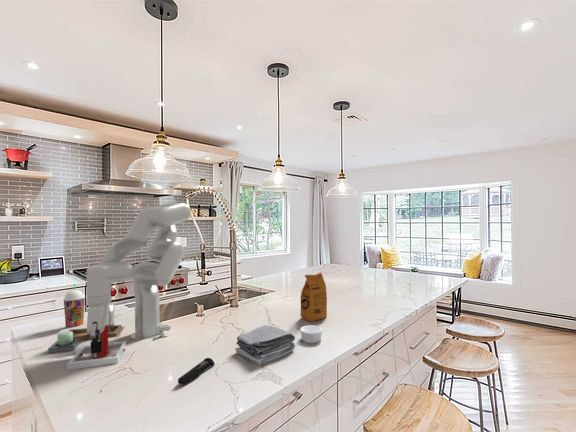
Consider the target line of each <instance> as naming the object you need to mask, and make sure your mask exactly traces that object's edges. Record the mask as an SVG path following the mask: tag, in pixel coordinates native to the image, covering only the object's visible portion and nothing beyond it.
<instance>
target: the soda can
mask: <svg viewBox="0 0 576 432" xmlns="http://www.w3.org/2000/svg"><path fill="white" fill-rule="evenodd" d="M96 332H99V331H96ZM98 335H99V334H97V335H96V336H98ZM89 341H90V343H89V345H90V348H89V349H90V351H89V352H90V358H91V359H99V358H107V357H108V355H109V346H108V343H109V338H108V326H107V324H106V325H105V329H104V331H103V332H102V333H101V340H100V341H102V351H101V352H100V353H91V333H90V340H89ZM91 359H90V360H91Z"/></svg>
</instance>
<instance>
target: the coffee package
mask: <svg viewBox="0 0 576 432" xmlns="http://www.w3.org/2000/svg"><path fill="white" fill-rule="evenodd" d="M304 278H305V279H306V280H305V283H304V285H303V287H302V289H301V293H300V312H299V313H300V317H301V319H303V320H305V321H307V322H310V323H312V322H316V321H319V320H320V321H321V320H324V319H326V318H327V315H328V311H327V309H328V308H327V307H328V306H327V305H328V296H327V295H328V294H327V293H328V292H327V286H326V281H325V280H324V276H323V273H322V272H318V273H316V274H305V275H304Z"/></svg>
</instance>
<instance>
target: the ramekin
mask: <svg viewBox="0 0 576 432" xmlns="http://www.w3.org/2000/svg"><path fill="white" fill-rule="evenodd" d="M322 332H323V328H322V327H320V326H318V325H317V326H316V325H309V324H308V325H303V326H301V327H300V336H301V340H302V342H305V343H307V344H317V343H319V342H320V341H322Z"/></svg>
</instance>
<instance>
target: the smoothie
mask: <svg viewBox="0 0 576 432" xmlns="http://www.w3.org/2000/svg"><path fill="white" fill-rule="evenodd" d="M85 304H86V295H85V293H83V292H82V291H81V290H80V289H76V284H75V283H73V289H72V290H70V291H68V292H67V293H66V294H65V296H64V298H63V309H64V319H65V320H64V321H65V322H64V323H65V326H66V327H67V328H72V327H73V328H74V327H79V326H82V325H83V324H84V321H85V319H84V318H85V308H86V307H85Z"/></svg>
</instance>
